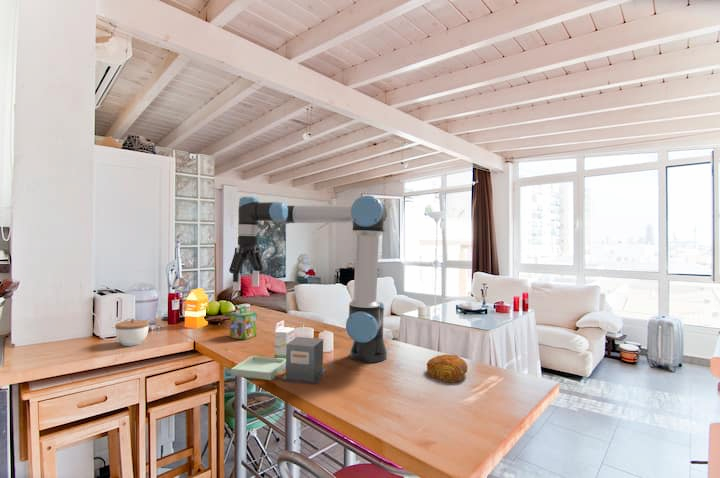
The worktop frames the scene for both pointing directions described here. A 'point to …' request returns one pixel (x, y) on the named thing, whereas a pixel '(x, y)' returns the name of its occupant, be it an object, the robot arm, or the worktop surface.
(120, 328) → the lidded bowl
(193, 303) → the orange juice
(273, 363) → the tray
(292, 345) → the unit
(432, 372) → the brown rounded lump
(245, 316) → the floral tea caddy
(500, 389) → the worktop surface
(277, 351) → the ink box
